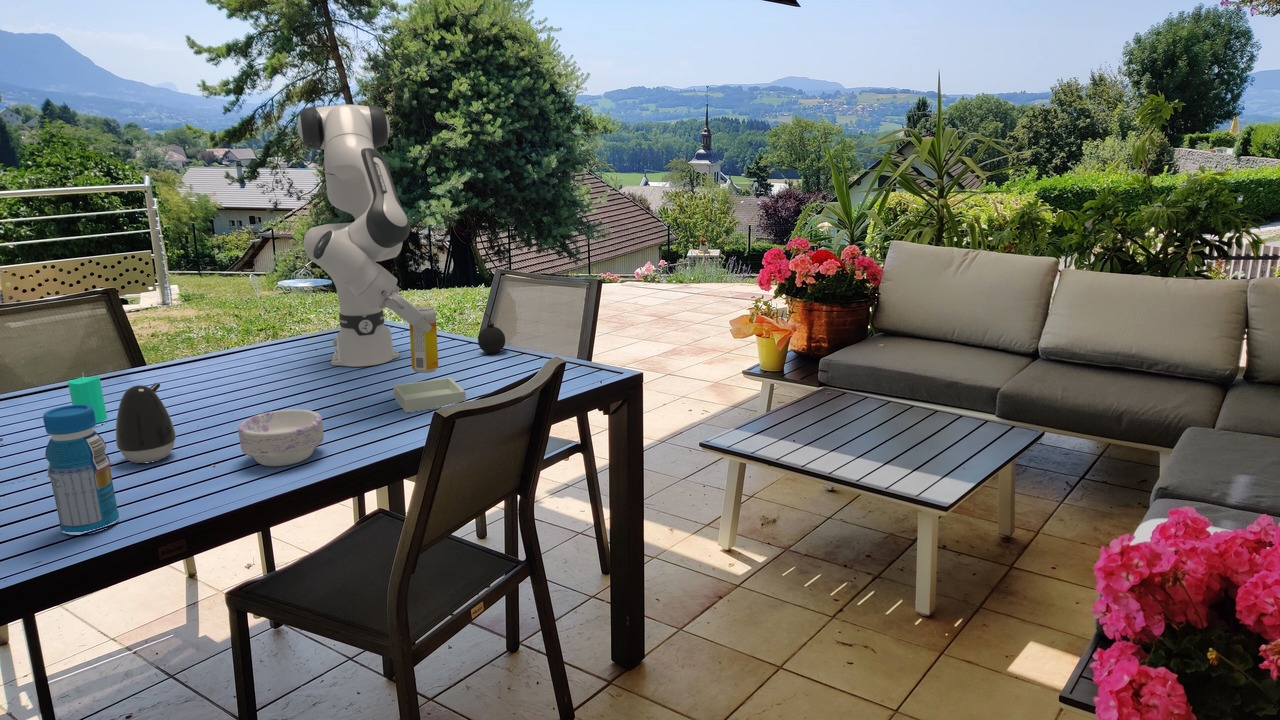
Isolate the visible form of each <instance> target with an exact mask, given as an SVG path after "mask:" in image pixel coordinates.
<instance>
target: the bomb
mask: <svg viewBox="0 0 1280 720" xmlns="http://www.w3.org/2000/svg"><path fill="white" fill-rule="evenodd" d="M483 314H484V315H485V316H487V318H488V320H489V323H487V324H486V325H487V326H486V327H484V328H483V329H482V330H480V332H479V334H478V337H477V344H478V347H479V348H480V349H481V351H483V353H484V352H485V353H486V354H490V355H494V354H497V353H500V352H501V351H502V350H503V349H504V347H505V346H506V336H505V333H504V332H503V330H502V329H500V328H499V327H496V326H495V324H494V323H492V320H491V317H490V316H489V314H487V313H486V312H484V313H483Z"/></svg>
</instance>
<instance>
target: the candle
mask: <svg viewBox="0 0 1280 720" xmlns="http://www.w3.org/2000/svg"><path fill="white" fill-rule="evenodd" d="M67 384H68V388H69V393H70V399H71V405H80V404H83V405H90V406H92V407H93V410H94V414H95V420H96V423H99V422H102V421H104V420H106V419H108V415H107V408H106V404H105V399H104V394H103V393H104V392H103V389H102V388H103V387H102V383H101V377H100V376H97V375H95V376H91V377H86V376H84V372H82V377H78V378H75V379H72V380H71V379H69V380H68V382H67Z"/></svg>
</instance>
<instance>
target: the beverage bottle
mask: <svg viewBox="0 0 1280 720" xmlns="http://www.w3.org/2000/svg"><path fill="white" fill-rule="evenodd" d="M42 419H43V424H44V429H45V432H46V435H48V436H49V437H51V438H49V441H48V443H47V445H46V448H45V454H44V455H45V457H44V458H45V459H46V461H48V466H47V471H46V472H47V476H48V477H49V479H50V484H51V488H52V493H53V497H54V502H55V506H56V511H57V516H58V520H59V527H60V531H61V530H62V531H65V532H84V531H89V530H93V529H97V528H100V527H103V526H105V525H108V524H110V523H112V522H114V521H116V520H117V519H118V518H119V519H120V514H119V509H118V504H117V500H116V494H115V489H114V484H113V483H114V482H113V477H112V472H111V461H110V457H109V456H108V455H107V454H106V452H105V451H106V449H107V444H106V442H105V441H104V439H103V438H102V436H101V435H100V434H98V432H97V431H96V430H94V429H95V428H96V427H95V426H96V420H95V414H94V410H93V407H92V406H90V405H83V404H80V405H72V404H69V405H63V406H60V407H56V408H52V409H49V410H47V411H46V412H45V413H43V418H42ZM62 531H61V532H62Z"/></svg>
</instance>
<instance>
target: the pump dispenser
mask: <svg viewBox="0 0 1280 720" xmlns="http://www.w3.org/2000/svg"><path fill="white" fill-rule="evenodd" d="M160 387H161V384H160V383H159V382H155V383H154V384H152V385H151V386H150V387H148V386H146V385H143V384H141V385H140V384H138V385H137V384H136V385H133V386H131V387H129V388H127V389H126V391H125V392H124V393H123V395H122V397H121V399H120V402H119V406H118V408H117V416H116V423H115V444H116V447H117V449H118V450H119V451H120V453H121V455H122V456H123V457H124V458H125V460H127V461H129V462H131V463H134V464H138V463H145V462H152V461H157V460H159V461H161V460H160V459H162V458H163V459H165V458H166V457H168V456H169V455H170V454H171V453H172V450H173V449H174V447H175V440H176V439H177V435H176V430H175V426H174V425H173V421H172V418H171V416H170V414H169V412H168V410H167V407H166V406H165V404H164V403H163V401H162V399H161V398H160V397H159V396H158V394H157V393H156V392H157V391H158V389H159V388H160ZM163 459H162V460H163ZM157 462H158V461H157Z"/></svg>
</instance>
